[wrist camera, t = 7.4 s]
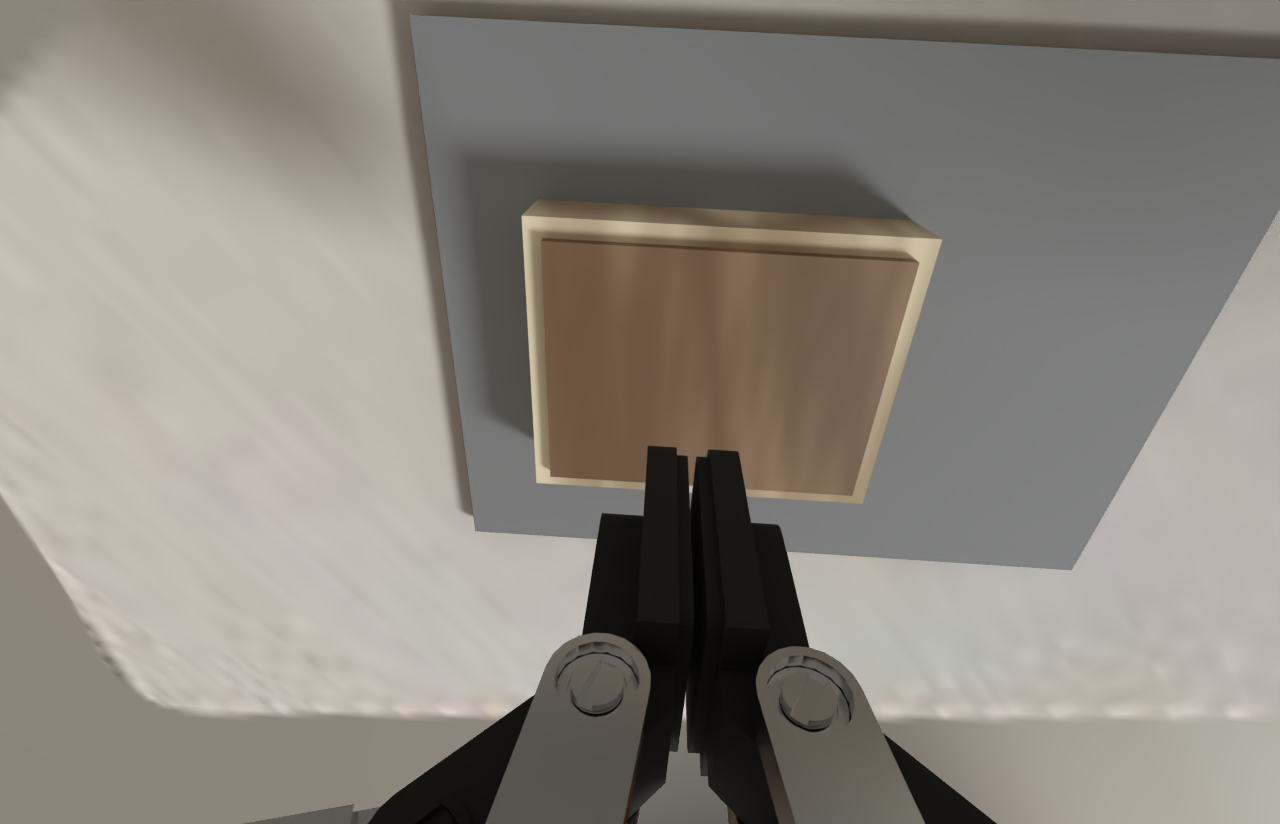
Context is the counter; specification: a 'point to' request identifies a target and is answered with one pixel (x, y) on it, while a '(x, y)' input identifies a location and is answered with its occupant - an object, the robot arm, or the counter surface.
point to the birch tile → (718, 341)
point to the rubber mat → (873, 188)
